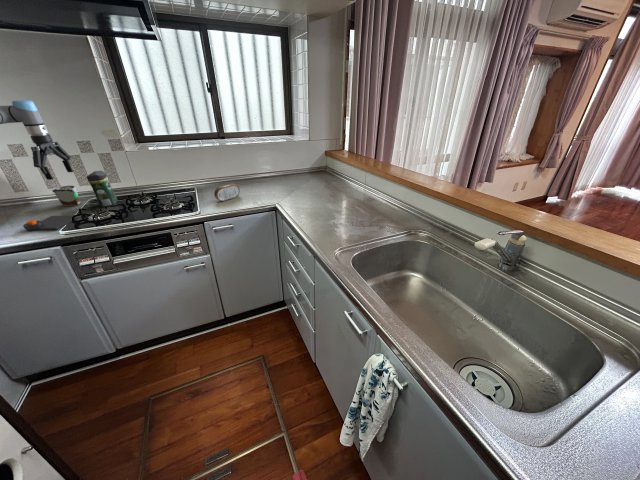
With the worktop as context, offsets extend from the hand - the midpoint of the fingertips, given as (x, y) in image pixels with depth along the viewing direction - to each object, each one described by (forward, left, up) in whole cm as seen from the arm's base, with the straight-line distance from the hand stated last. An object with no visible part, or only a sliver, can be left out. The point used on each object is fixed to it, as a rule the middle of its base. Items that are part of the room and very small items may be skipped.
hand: (60, 175), depth 146 cm
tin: (+88, +2, -17) cm, 90 cm away
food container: (0, 0, -17) cm, 17 cm away
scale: (+11, -27, -16) cm, 33 cm away
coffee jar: (+21, -2, -17) cm, 27 cm away
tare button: (+6, -32, -14) cm, 35 cm away
